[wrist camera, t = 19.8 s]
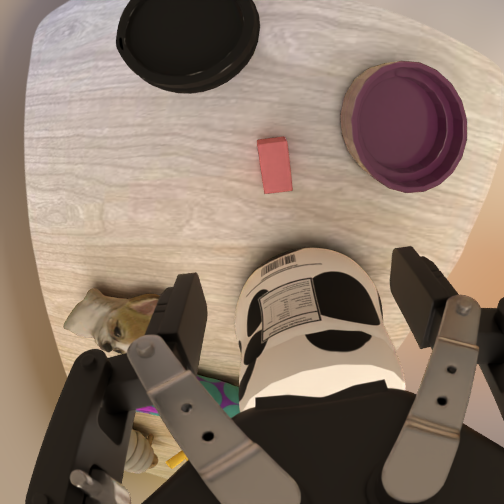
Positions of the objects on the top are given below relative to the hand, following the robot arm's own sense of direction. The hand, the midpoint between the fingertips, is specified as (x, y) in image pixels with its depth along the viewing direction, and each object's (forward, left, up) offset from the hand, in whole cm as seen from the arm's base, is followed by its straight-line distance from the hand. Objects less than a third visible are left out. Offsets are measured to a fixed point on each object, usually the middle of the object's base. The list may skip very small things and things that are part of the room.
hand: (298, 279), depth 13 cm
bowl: (-3, +14, -22) cm, 26 cm away
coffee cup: (-12, -4, -22) cm, 26 cm away
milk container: (+18, +2, -22) cm, 29 cm away
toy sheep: (+52, -37, -22) cm, 68 cm away
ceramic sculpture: (+17, -22, -22) cm, 36 cm away
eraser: (0, 0, -22) cm, 22 cm away
